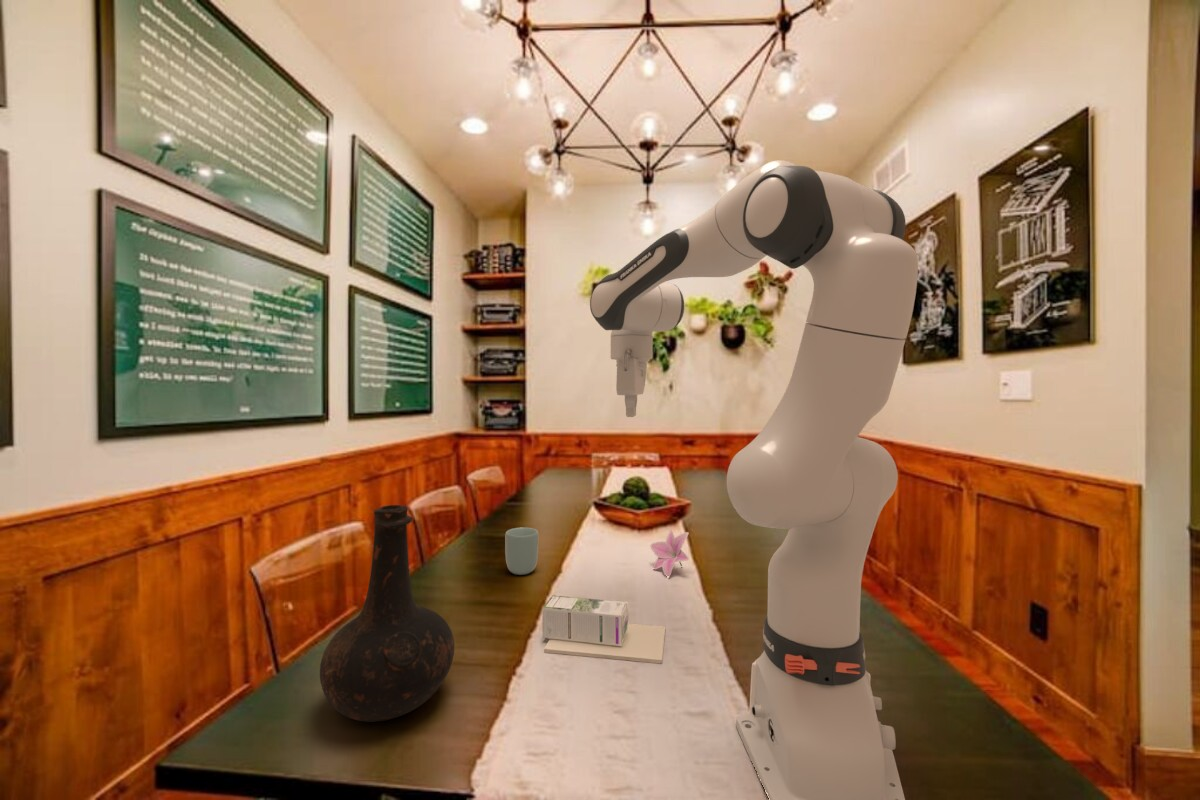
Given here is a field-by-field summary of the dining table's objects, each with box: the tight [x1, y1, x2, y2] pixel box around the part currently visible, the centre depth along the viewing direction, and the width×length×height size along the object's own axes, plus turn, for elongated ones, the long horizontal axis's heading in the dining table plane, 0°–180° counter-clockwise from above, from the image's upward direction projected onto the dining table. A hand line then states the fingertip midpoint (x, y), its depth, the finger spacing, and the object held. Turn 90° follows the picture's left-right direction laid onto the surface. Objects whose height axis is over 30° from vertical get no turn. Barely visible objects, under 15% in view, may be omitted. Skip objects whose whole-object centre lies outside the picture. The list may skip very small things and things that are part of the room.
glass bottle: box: [319, 504, 455, 723], centre depth 74 cm, size 18×18×28 cm
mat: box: [543, 623, 666, 665], centre depth 92 cm, size 12×20×1 cm, turn 80°
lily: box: [649, 529, 690, 578], centre depth 128 cm, size 12×12×10 cm
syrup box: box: [541, 595, 629, 646], centre depth 92 cm, size 6×6×14 cm
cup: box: [504, 526, 539, 576], centre depth 126 cm, size 8×8×10 cm
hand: (631, 416), depth 108 cm, fingers closed
